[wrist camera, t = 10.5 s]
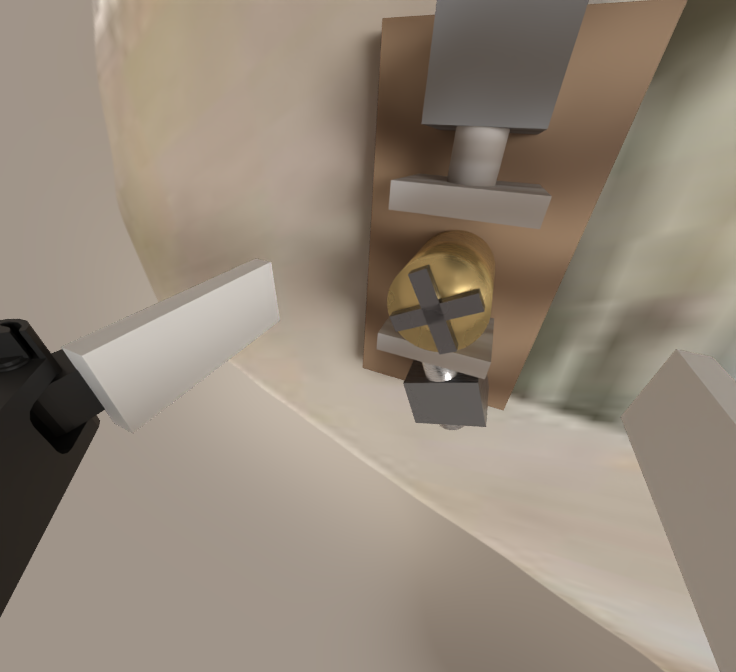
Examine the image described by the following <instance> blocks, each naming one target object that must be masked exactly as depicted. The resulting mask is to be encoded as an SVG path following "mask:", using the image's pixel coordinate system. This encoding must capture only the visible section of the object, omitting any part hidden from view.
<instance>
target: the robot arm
mask: <svg viewBox="0 0 736 672" xmlns="http://www.w3.org/2000/svg"><path fill="white" fill-rule="evenodd" d="M279 321H280V317H279V310H278V304H277V297H276V290H275V284H274V277H273V270H272V264H271V262H270V261H266V260H261V259H256V258H255V259H253V260H251V261H249V262H246V263H244V264H242V265H240V266H238V267H235V268H233V269H231V270H229V271H227V272H224V273H222V274H220V275H218V276H216V277H213V278H211V279H209V280H207V281H205V282H202V283H200V284H198V285H196V286H194V287H191V288H189V289H187V290H185V291H183V292H180V293H178V294H176V295H174V296H172V297H169V298H167V299H165V300H163V301H161V302H158V303H156V304H154V305H152V306H150V307H147V308H145V309H143V310H141V311H139V312H136V313H134V314H132V315H130V316H128V317H125V318H123V319H121V320H119V321H117V322H114V323H112V324H110V325H108V326H106V327H104V328H101V329H99V330H97V331H95V332H92V333H90V334H88V335H86V336H84V337H81V338H79V339H77V340H75V341H73V342H70V343H68V344H66V345H64V346H62V347H61V348H62V350H59V351H57V352H54V353H50V351H49V350H48V349H47V347H46V346H45V345H44V343H43V342H42V341H41V339H40V338H39V336H38V335H37V334H36V332H35V331H34V330H33V328H32V327H31V326H30V324H29V323H28V322H27V321H26V320H21V319H5V320H0V617H1V615H2V613H3V611H4V609H5V607H6V605H7V603H8V601H9V599H10V597H11V596H12V594H13V592H14V590H15V588H16V586H17V584H18V582H19V580H20V578H21V576H22V574H23V572H24V571H25V569H26V567H27V565H28V563H29V561H30V559H31V557H32V555H33V553H34V551H35V549H36V547H37V545H38V543H39V542H40V540H41V538H42V536H43V534H44V532H45V530H46V528H47V526H48V524H49V522H50V520H51V518H52V516H53V514H54V512H55V510H56V509H57V506H58V505H59V503H60V501H61V499H62V497H63V495H64V493H65V491H66V489H67V487H68V485H69V483H70V482H71V480H72V478H73V476H74V474H75V472H76V470H77V468H78V466H79V464H80V462H81V460H82V458H83V457H84V454H85V453H86V451H87V449H88V447H89V445H90V443H91V441H92V439H93V437H94V435H95V433H96V431H97V429H98V427H99V424H100V420H99V418H98V417H97V414H99V413H100V412H102V411H103V410H105V411H106V412H107V414H108V415H109V416H110V418H111V419H112V421H113V422H114V424H116V425H118V426H120V427H122V428H124V429H126V430H128V431H130V432H132V433H134V432H135V431H137V430H138V429H139V428H141V427H142V426H143V425H145V424H146V423H147V422H148V421H150V420H151V419H152V418H154V417H155V416H156V415H158V414H159V413H160V412H161V411H163V410H164V409H165V408H167V407H168V406H169V405H171V404H172V403H173V402H175V401H176V400H177V399H178V398H180V397H181V396H182V395H184V394H185V393H186V392H188V391H189V390H190V389H191V388H193V387H194V386H195V385H197V384H198V383H199V382H201V381H202V380H203V379H204V378H206V377H207V376H208V375H210V374H211V373H212V372H214V371H215V370H216V369H217V368H219V367H220V366H221V365H223V364H224V363H225V362H227V361H228V360H229V359H231V358H232V357H233V356H234V355H236V354H237V353H238V352H240V351H241V350H242V349H244V348H245V347H246V346H247V345H249V344H250V343H251V342H253V341H254V340H255V339H257V338H258V337H259V336H260V335H262V334H263V333H264V332H266V331H267V330H268V329H270V328H271V327H272V326H273V325H275V324H276V323H277V322H279ZM621 419H622V422H623V425H624V427H625V430H626V432H627V435H628V437H629V440H630V442H631V445H632V448H633V450H634V453H635V455H636V458H637V460H638V463H639V466H640V468H641V471H642V473H643V476H644V478H645V481H646V483H647V486H648V489H649V491H650V494H651V496H652V499H653V501H654V504H655V507H656V509H657V512H658V514H659V517H660V519H661V522H662V524H663V527H664V530H665V532H666V535H667V537H668V540H669V542H670V545H671V548H672V550H673V553H674V555H675V558H676V560H677V563H678V565H679V568H680V571H681V573H682V576H683V578H684V581H685V583H686V586H687V589H688V591H689V594H690V596H691V599H692V601H693V604H694V606H695V609H696V612H697V614H698V617H699V619H700V622H701V624H702V627H703V630H704V632H705V635H706V637H707V640H708V642H709V645H710V647H711V650H712V653H713V655H714V658H715V660H716V663H717V665H718V668H719V671H720V672H736V382H735V380H734V379H733V378H732V377H731V376H730V375H729V374H728V373H727V372H726V371H725V370H724V369H723V368H722V366H721V365H720V364H719V363H718V362H717V361H716V360H715V359H714V358H713V357H711V356H707V355H702V354H697V353H693V352H688V351H683V350H679V349H676V350H675V351H674V352H673V353H672V355H671V356H670V357H669V358H668V360H667V361H666V362H665V363H664V364H663V366H662V367H661V368H660V369H659V371H658V372H657V373H656V374H655V376H654V377H653V378H652V379H651V380H650V382H649V383H648V384H647V385H646V387H645V388H644V389H643V390H642V391H641V393H640V394H639V395H638V396H637V398H636V399H635V400H634V401H633V402H632V404H631V405H630V406H629V407H628V409H627V410H626V411H625V412H624V413H623V415H622V416H621Z"/></svg>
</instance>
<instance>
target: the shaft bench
mask: <svg viewBox="0 0 736 672" xmlns="http://www.w3.org/2000/svg"><path fill="white" fill-rule="evenodd" d="M588 2H589V0H437V4H436V12H435V15H424V16H409V17H394V18H383V19H382V37H381V54H380V72H379V90H378V107H377V125H376V143H375V161H374V178H373V196H372V214H371V231H370V249H369V267H368V284H367V302H366V320H365V338H364V355H363V368H365V369H369V370H372V371H375V372H379V373H382V374H385V375H388V376H392V377H395V378H398V379H402V380H405V378H406V376H407V374H408V372H409V369H410V367H411V365H412V363H413V361H414V360H417V361H421V362H424V363H428V364H432V365H435V366H439V367H442V368H446V369H449V370H453V371H457V372H460V373H464V374H467V375H471V376H474V377H478V378H482V379H485V378H486V375H487V377H488V383H489V393H488V406H491V407H494V408H497V409H501V410H504V408H505V406H506V403H507V401H508V399H509V397H510V395H511V392H512V390H513V388H514V386H515V383H516V381H517V379H518V377H519V374H520V372H521V370H522V368H523V366H524V363H525V361H526V359H527V357H528V354H529V352H530V350H531V348H532V345H533V343H534V341H535V339H536V337H537V334H538V332H539V330H540V328H541V325H542V323H543V321H544V319H545V316H546V314H547V312H548V310H549V308H550V305H551V303H552V301H553V299H554V296H555V294H556V292H557V290H558V287H559V285H560V283H561V281H562V279H563V276H564V274H565V272H566V270H567V267H568V265H569V263H570V261H571V259H572V256H573V254H574V252H575V250H576V247H577V245H578V243H579V241H580V238H581V236H582V234H583V232H584V230H585V227H586V225H587V223H588V221H589V218H590V216H591V214H592V212H593V209H594V207H595V205H596V203H597V201H598V198H599V196H600V194H601V192H602V189H603V187H604V185H605V183H606V180H607V178H608V176H609V174H610V172H611V169H612V167H613V165H614V163H615V160H616V158H617V156H618V154H619V151H620V149H621V147H622V145H623V143H624V140H625V138H626V136H627V134H628V131H629V129H630V127H631V125H632V122H633V120H634V118H635V116H636V114H637V111H638V109H639V107H640V105H641V102H642V100H643V98H644V96H645V93H646V91H647V89H648V87H649V85H650V82H651V80H652V78H653V76H654V73H655V71H656V69H657V67H658V65H659V62H660V60H661V58H662V56H663V53H664V51H665V49H666V47H667V44H668V42H669V40H670V38H671V36H672V33H673V31H674V29H675V27H676V24H677V22H678V20H679V18H680V15H681V13H682V11H683V9H684V7H685V4H686V2H687V0H647V1H632V2H618V3H603V4H588ZM450 230H463V231H468V232H471V233H473V234H475V235H477V236H479V237H480V238H482V239H483V240H484V241H485V242H486V243H487V244H488V246H489V247H490V249H491V251H492V253H493V255H494V259H495V277H494V287H493V298H492V308H491V316H490V320H489V323H488V325H487V328H486V329H485V331H484V332H483V334H482V335H481V336H480V337H479V338H478V339H477V340H476V341H475V342H473V343H472V344H470V345H469V346H467V347H465V348H463V349H460V350H457V352H451V353H445V354H440V355H439V352H433V351H428V350H425V349H422V348H419V347H417V346H415V345H413V344H411V343H410V342H409V341H407V340H406V339H405V338H404V337H402V336H401V335H400V333H399V332H396V331H395V329H394V327H393V325H392V322H391V320H390V318H389V313H388V307H387V297H388V292H389V289H390V286H391V284H392V282H393V280H394V279H395V278H396V276H397V275H398V274H399V273H400V272H401V270H402V269H403V268H404V267H405V266H406V265H407V264H408V263H409V261H410V260H411V259H412V258H413V257H414V256H415V255H416V254H417V252H418V251H419V250H420V249H421V248H422V247H423V246H424V245H425V244H426V242H427V241H429V240H430V239H431V238H432V237H434V236H435V235H437V234H440V233H442V232H445V231H450Z"/></svg>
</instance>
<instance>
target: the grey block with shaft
mask: <svg viewBox="0 0 736 672" xmlns="http://www.w3.org/2000/svg"><path fill="white" fill-rule="evenodd" d="M403 384H404V387H405V390H406V393H407V396H408V400H409V403H410V406H411V409H412V413H413V416H414V419H415V422H416V423H430V424H439V425H440V426H441V427H443V428H445V429H448V430H457V429H460V428H462V427H464V426H479V427H486V420H487V407H488V393H489V383H488V377H487V375H486V378H485V379H482V378H478V377H474V376H471V375H467V374H464V373H460V372H457V371H453V370H449V369H446V368H442V367H439V366H435V365H432V364H428V363H424V362H421V361H417V360H414V361H413V363H412V365H411V367H410V369H409V372H408V374H407V376H406V378H405V381H404V383H403Z"/></svg>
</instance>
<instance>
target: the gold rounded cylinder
mask: <svg viewBox="0 0 736 672" xmlns="http://www.w3.org/2000/svg"><path fill="white" fill-rule="evenodd" d="M494 277H495V259H494V255H493V253H492V251H491V249H490V247H489V246H488V244H487V243H486V242H485V241H484V240H483V239H482V238H480V237H479V236H477V235H475V234H473V233H471V232H468V231H463V230H450V231H445V232H442V233H440V234H437V235H435V236H434V237H432V238H431V239H430V240H429V241H427V242H426V244H425V245H424V246H423V247H422V248H421V249H420V250H419V251H418V252H417V254H416V255H415V256H414V257H413V258H412V259H411V260H410V261H409V263H408V264H407V265H406V266H405V267H404V268H403V269H402V270H401V272H400V273H399V274H398V275H397V276H396V278H395V279H394V280H393V282H392V284H391V286H390V289H389V292H388V297H387V307H388V313H389V318H390V320H391V322H392V325H393V327H394V329H395V331H396V332H399V333H400V335H401V336H402V337H404V338H405V339H406V340H407V341H409V342H410V343H411V344H413V345H415V346H417V347H419V348H422V349H425V350H428V351H433V352H439V355H440V354H445V353H451V352H457V350H460V349H463V348H465V347H467V346H469V345H470V344H472V343H473V342H475V341H476V340H477V339H478V338H479V337H480V336H481V335H482V334H483V332H484V331H485V329H486V328H487V325H488V323H489V320H490V316H491V308H492V298H493V287H494Z"/></svg>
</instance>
